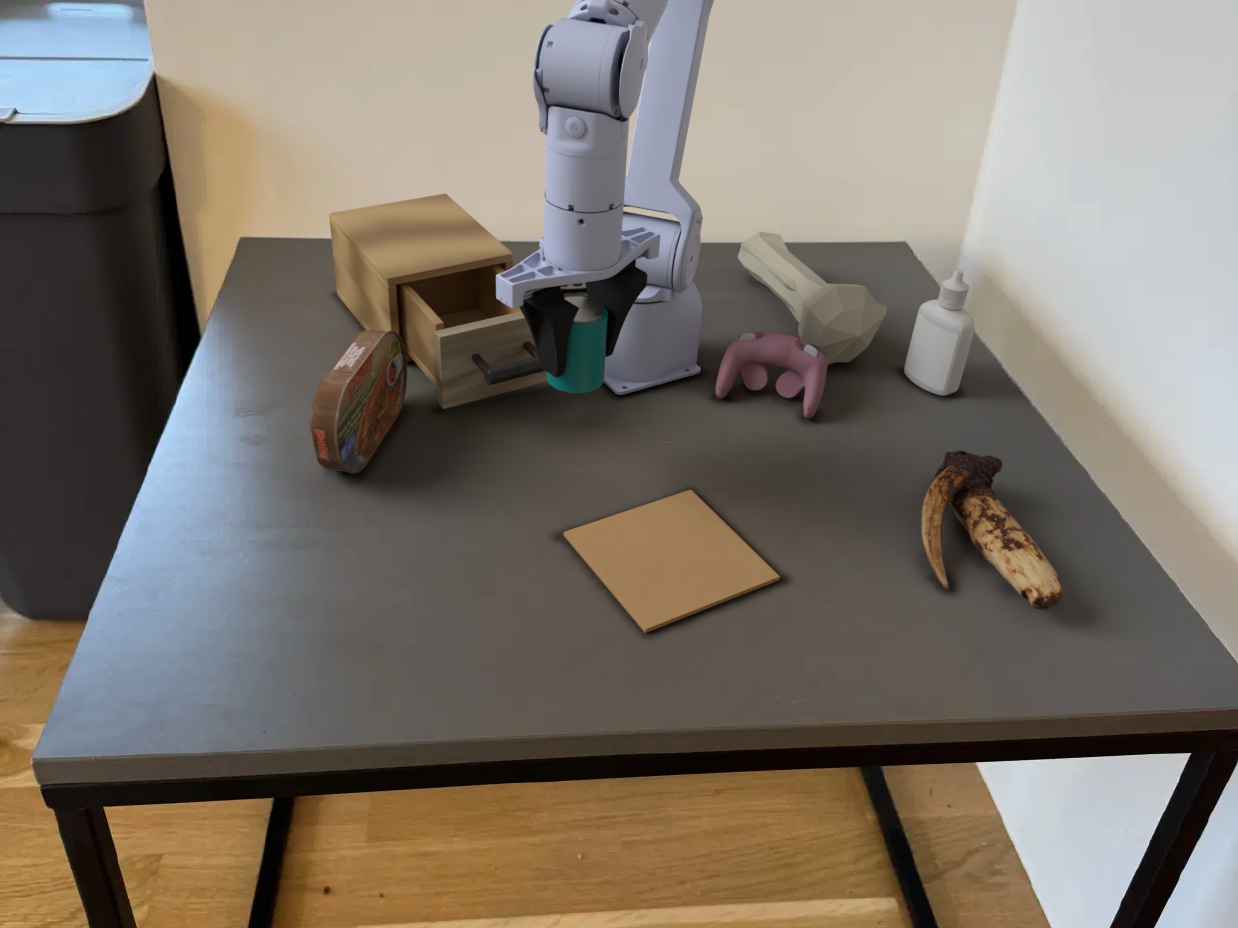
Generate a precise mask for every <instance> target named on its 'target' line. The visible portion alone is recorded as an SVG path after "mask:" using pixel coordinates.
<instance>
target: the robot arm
mask: <svg viewBox="0 0 1238 928" xmlns="http://www.w3.org/2000/svg"><path fill="white" fill-rule="evenodd" d="M714 3H715V0H576V1H575V3H574V5H573V6H572V8H571V11H570V12H569V14H568V16H567V18H566V17H560V18H558V19H557V20H556V21H555V22H554V24H552V23H551V24H547V25H546V26H544V28H543V29H542V31H541V32H540V35H539V37H538V40H537V44H536V48H535V53H534V61H533V70H532V87H533V94H534V99H535V101H536V104H537V106H538V107H537V108H538V127H539V131H540V132H541V133H542V134H544V135H545V149H544V151H545V153H544V154H545V156H544V203H543V204H544V205H543V206H544V207H543V209H544V211H543V236H541V237H540V238H539V239H538V240H539V245H538V247H539V249H537V250H536V251H534V252H533V253H531V254H530V255H529V256H527V257H525V258H524V259H523V260H521V261H519V262H518V263H517V264H515V266H514V265H513V268H511V269H509V270H507V271H505V272H503V273H500V274H497V275H496V299H498V300H499V301H501V302H502V303H504V304H505V305H508V306H509V307H511V308H512V309H514V308H517V307H519V308H520V310H521V311H522V313H523V315H524V317H525V319H526V321H527V323H528V326H529V328H530V331H531V333H532V336H533V339H534V342H535V346H536V350H537V353H538V358H539V362H540V366H541V368H542V369H544V370H545V371H547V372H548V373H550V374H551V375H553V376H554V377H560V376H562V375H563V374H564V371H565V367H566V360H567V347H568V339H569V334H570V330H571V327H572V324H573V321H574V318H575V316H576V314H577V312H578V310H579V308H578V307H577V306H576V305H574V304H572V303H570V302H569V301H567V300H565V298H566V296H565V295H566V294H565V293H564V292H562V291H561V286H563V285H569V284H577V283H584V282H585V284H586V289H587V290H586V295H587V298H591V299H593V300H596V301H598V302H599V303H601V304H602V305H603V306H604V307H605V308H606V309H607V311H608V323H607V339H606V356H605V373H604V382H603V384H605V385H606V386H607V387H608V388H609V389H611V391H612V392H614V394H616V395H618V396H624V395H627V394H630V393H633V392H637V391H641V390H645V389H648V388H652V387H655V386H659V385H662V384H666V383H670V382H674V381H677V380H680V379H683V378H684V379H685V378H687V377H691V376H695V375H698V374H700V373H701V366H699V365H698V364H697V361H698V351H699V343H700V335H701V326H702V318H703V305H702V304H703V303H702V299H701V294H700V291H699V288H698V287H697V285H696V284H695V282H694V281H693V280H694V278H695V274H696V270H697V267H698V262H699V257H700V251H701V239H702V237H701V236H702V235H701V232H702V225H703V219H704V216H703V213H702V209H701V206H700V204H699V203H698V202H697V200H696V199H695V198H694V197H693V196H692V195H691V194H690V193H689V192H688V191H687V189H686V188H685V187H684V186H683V185H682V184H681V182H680V176H681V175H680V174H681V170H682V164H683V158H684V153H685V149H686V148H685V147H686V143H687V138H688V133H689V127H690V121H691V116H692V111H693V106H694V99H695V94H696V88H697V83H698V80H699V79H698V78H699V73H700V69H701V62H702V57H703V51H704V46H705V40H706V36H707V31H708V25H709V19H710V16H711V12H712V8H713V5H714ZM636 108H637V112H636V118H635V123H634V129H633V134H632V140H631V146H630V151H629V158H628V147H629V146H628V145H629V129H630V117H631V116H632V115H633V114H634V112H635V110H636ZM627 160H628V163H627ZM624 208H637V209H640V210H647V211H653V212H658V213H664V214H667V215H672V216H674V217H675V218H676V219H677V220H673V219H668V218H663V217H656V216H651V215H646V214H641V213H636V212H630V211H625V210H624Z"/></svg>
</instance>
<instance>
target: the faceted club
mask: <svg viewBox="0 0 1238 928" xmlns="http://www.w3.org/2000/svg"><path fill="white" fill-rule="evenodd" d="M737 259H738V260H739V261H740V263H741V265H742V266H743V268H744V269H745V270H746V271H747V272H748V273H749V274H750V276H752V278H754V279H755V280H757V281H758V282H760V283H761V284H762V285H764V286H765V287H767V288H768V289H769V290H770V291H771V292H772V293H773V294H774V295H775V296H776V297H777V298H778V299H780V300H781V301H782V302H783V303H784V304H785V305H786V307H787V309H789V311H790V312H791V314H792V315H793V317H794V318H795V320H796V321H797V322H798V328H797V333H798V336H799V339H800V340H802V341H804V342H806V343H808V344H810V345H811V346H813V347H814V348H815V349H817V350H819V351H820V352H821V353H822V354H823V355H824V356H825V358H826V360H827V364H828V366H829V365H832V364H835V363H850V362H851V361H853V360H854V359H855V358H856V357H858V356H859V355H860V354H861V353H863V352H864V351H866V349H868V347H869V346H870V345H871V343H872V340H873V339H874V337H875V335H876V333H877V332H878V330H879V329H880V328H881V325H882V323H883V322H884V320H885V318H886V316H887V312H888V311H887V310H888V305H885V304H883V303H880V302H877V301H876V300H875V298H874V297H873V295H872V293H870V291H869V289H868V288H867V286H864V285H860V284H856V283H827V282H826V281H825V280H824V279H823V278H822V277H820V276H819V275H818V274H817V273H815V272H814V271H813V270H812V269H811V268H810V267H808V266H807V265H806V264H805V263H804V262H802V261H801V259H800V258H799V257H797V256H796V255H795V254H793V253H792V252H791V251H790V250H789V248H788V246H787V244H786V243H785V241H784V240H783V238H782V236H781V234H779V233H773V232H765V231H757V232H756V233H755V234H753V235H752V236H750V237H749V238H747V239H746V240H744V241H743V242H742V243H741V245H740V248H739V252H738V255H737Z"/></svg>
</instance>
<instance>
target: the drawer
mask: <svg viewBox="0 0 1238 928" xmlns="http://www.w3.org/2000/svg"><path fill="white" fill-rule="evenodd" d="M503 272H505V270H504V269H503V268H502V267H501V266H500V265H498V264H495V265H490V266H485V267H480V268H476V269H471V270H466V271H461V272H456V273H451V274H446V275H441V276H436V277H432V278H427V279H422V280H417V281H412V282H407V283H402V284H397V285H396V290H397V305H398V320H399V334H400V337H401V338H402V340H403V343H404V346H405V350H406V352H407V353H408V354H409V355H410V356H411V358H412V359H413V362H414V363H415V364H416V365H417V366H418V367H419V369H420V370H421V371H422V372H423V374H424V375H425V376H426V377H427V378H428V379H429V381H430V382H431V383H432V385H434V387H435V388H436V394H437V395H436V396H437V398H436V399H437V404H438V405H439V406H440V407H441V409H443V410H444V409H448V408H453V407H455V406H460V405H464V404H467V403H471V402H475V401H478V400H479V401H480V400H482V399H487V398H491V397H493V396H498V395H501V394H504V393H509V392H512V391H517V390H520V389H524V388H528V387H532V386H535V385H540V384H543V383H547V382H548V381H547V371H545V370H544V369H542V368H541V366H540V362H539V358H538V353H537V350H536V346H535V342H534V339H533V336H532V333H531V331H530V328H529V326H528V323H527V321H526V319H525V317H524V315H523V313H522V311H521V310H520V308H519V307H517V308H514V309H512V308H511V307H509V306H508V305H505V304H504V303H502V302H501V301H499V300H498V299H496V275H497V274H500V273H503Z"/></svg>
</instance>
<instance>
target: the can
mask: <svg viewBox="0 0 1238 928" xmlns="http://www.w3.org/2000/svg"><path fill="white" fill-rule="evenodd" d="M565 300H567V301H569V302H570V303H572V304H574V305H576V306H577V307H578V308H579V310H578V312H577V314H576V316H575V318H574V321H573V324H572V327H571V330H570V334H569V339H568V347H567V360H566V367H565V371H564V374H563V375H562V376H560V377H554V376H553V375H551V374H550V373H548V372H547V382H548V384H549V385H550V386H551V387H552V388H554V389H556V390H558V391H561V392H563V393H569V394H586V393H589V392H593V391H595V390H597V389H599V388H601V386H602V385H603V384H604V373H605V356H606V339H607V323H608V311H607V309H606V308H605V307H604V306H603V305H602V304H601V303H599V302H598V301H596V300H593V299H591V298H588V297H585V296H578V295H577V296H567V297H566V296H565Z"/></svg>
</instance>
